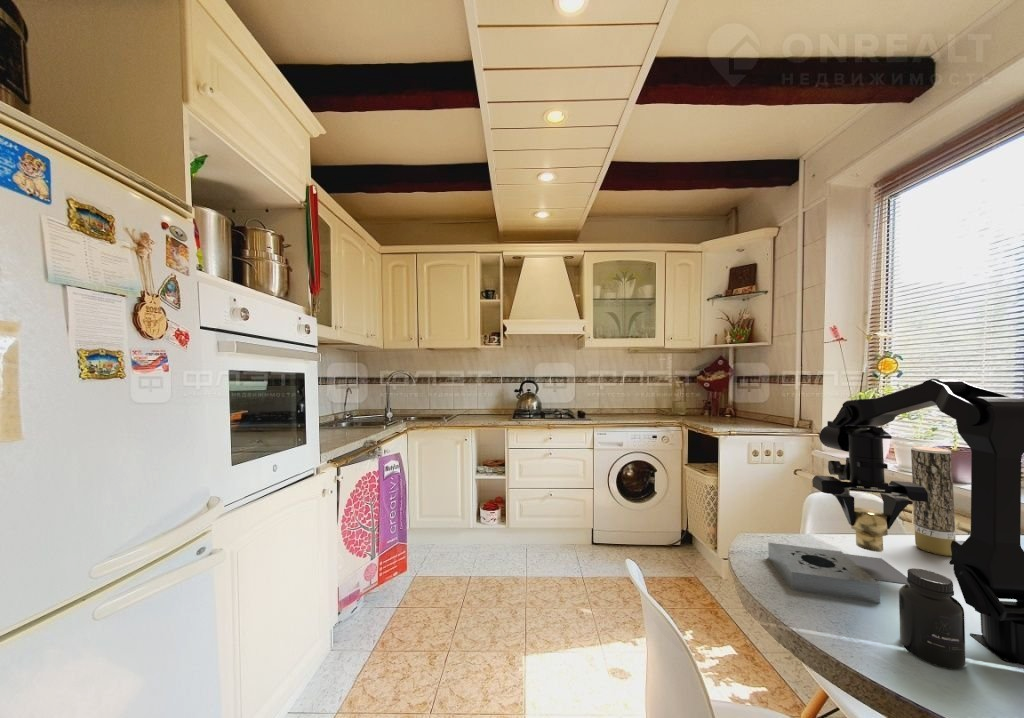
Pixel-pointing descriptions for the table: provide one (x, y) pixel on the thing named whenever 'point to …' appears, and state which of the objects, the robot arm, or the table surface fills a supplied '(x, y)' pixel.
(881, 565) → the rubber mat
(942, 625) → the supplement bottle
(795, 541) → the table surface
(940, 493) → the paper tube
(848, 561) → the housing
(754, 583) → the table surface
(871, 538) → the end cover
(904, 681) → the table surface
